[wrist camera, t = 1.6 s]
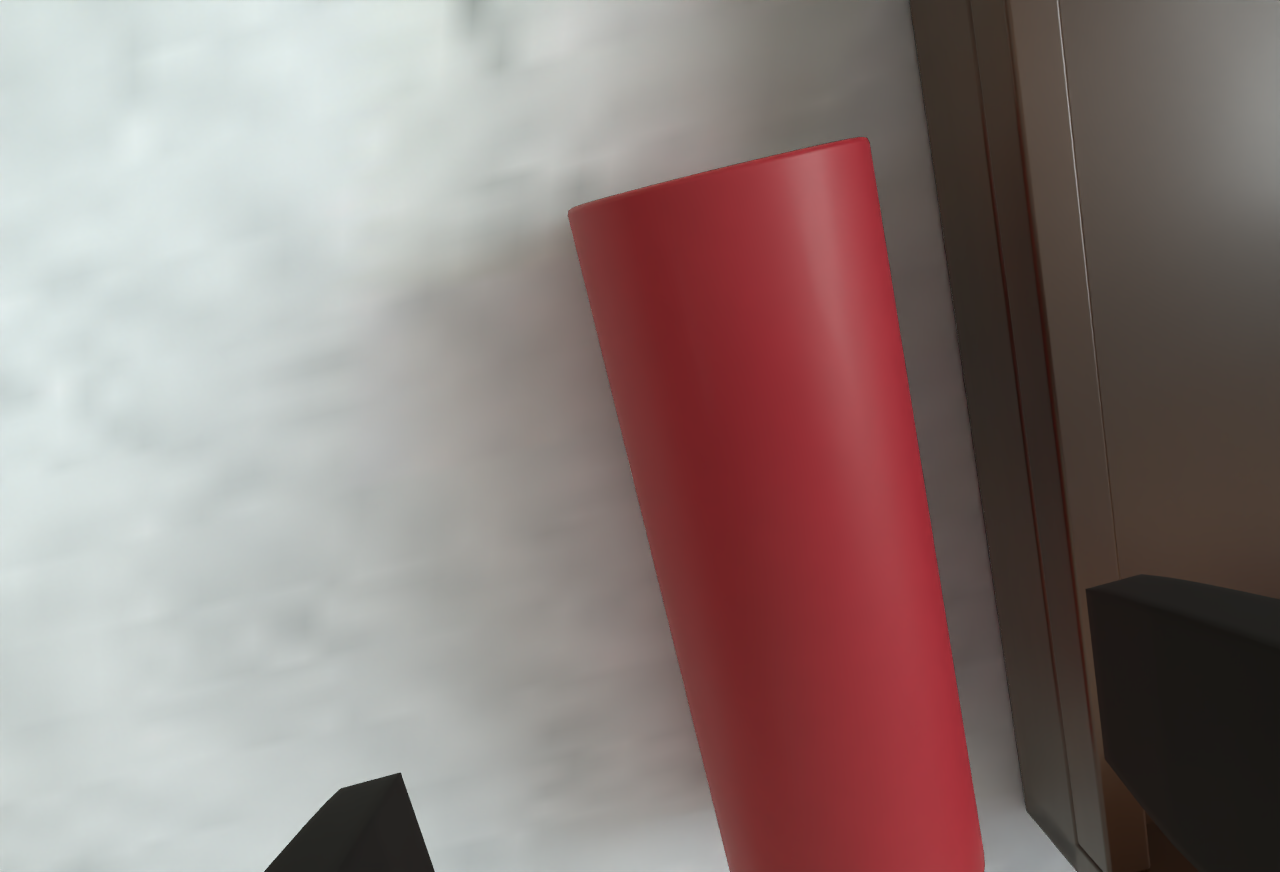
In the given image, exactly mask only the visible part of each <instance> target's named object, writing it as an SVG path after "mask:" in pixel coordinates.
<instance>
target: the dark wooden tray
mask: <svg viewBox="0 0 1280 872" xmlns="http://www.w3.org/2000/svg"><path fill="white" fill-rule="evenodd" d="M909 1H910V8H911V15H912V21H913V28H914V35H915V42H916V49H917V56H918V63H919V70H920V77H921V84H922V91H923V98H924V105H925V112H926V119H927V126H928V132H929V139H930V146H931V153H932V160H933V167H934V174H935V181H936V188H937V195H938V202H939V209H940V216H941V223H942V230H943V236H944V243H945V250H946V257H947V264H948V271H949V278H950V285H951V292H952V299H953V306H954V313H955V320H956V327H957V334H958V341H959V347H960V354H961V361H962V368H963V375H964V382H965V389H966V396H967V403H968V410H969V417H970V424H971V431H972V438H973V445H974V451H975V458H976V465H977V472H978V479H979V486H980V493H981V500H982V507H983V514H984V521H985V528H986V535H987V542H988V549H989V556H990V562H991V569H992V576H993V583H994V590H995V597H996V604H997V611H998V618H999V625H1000V632H1001V639H1002V646H1003V653H1004V660H1005V667H1006V673H1007V680H1008V687H1009V694H1010V701H1011V708H1012V715H1013V722H1014V729H1015V736H1016V743H1017V750H1018V757H1019V764H1020V771H1021V778H1022V784H1023V791H1024V798H1025V805H1026V811H1027V812H1028V813H1029V815H1030V816H1031V817H1032V818H1033V819H1034V821H1035V822H1036V823H1037V824H1038V825H1039V827H1040V828H1041V829H1042V830H1043V832H1044V833H1045V834H1046V835H1047V836H1048V838H1049V839H1050V840H1051V841H1052V842H1053V844H1054V845H1055V846H1056V847H1057V848H1058V850H1059V851H1060V852H1061V853H1062V854H1063V856H1064V857H1065V858H1066V859H1067V860H1068V862H1069V863H1070V864H1071V865H1072V866H1073V868H1074V869H1075V870H1076V871H1077V872H1199V871H1198V870H1197V869H1196V868H1195V867H1194V866H1193V865H1192V864H1191V863H1190V862H1189V861H1188V860H1187V859H1186V858H1185V857H1184V856H1183V855H1182V854H1181V853H1180V852H1179V851H1178V850H1177V848H1176V847H1175V846H1174V845H1173V844H1172V843H1171V842H1170V841H1169V840H1168V838H1167V837H1166V836H1165V835H1164V833H1163V832H1162V831H1161V830H1160V829H1159V827H1158V826H1157V825H1156V824H1155V823H1154V821H1153V820H1152V819H1151V818H1150V817H1149V815H1148V814H1147V813H1146V812H1145V810H1144V809H1143V808H1142V807H1141V806H1140V804H1139V803H1138V802H1137V800H1136V799H1135V798H1134V797H1133V795H1132V794H1131V793H1130V791H1129V790H1128V789H1127V787H1126V786H1125V785H1124V784H1123V782H1122V781H1121V780H1120V778H1119V777H1118V776H1117V774H1116V773H1115V772H1114V771H1113V769H1112V768H1111V767H1110V765H1109V764H1108V763H1107V761H1106V760H1105V758H1104V749H1103V740H1102V731H1101V722H1100V713H1099V705H1098V696H1097V687H1096V678H1095V669H1094V660H1093V652H1092V643H1091V634H1090V625H1089V616H1088V607H1087V599H1086V590H1085V589H1087V588H1091V587H1095V586H1098V585H1102V584H1106V583H1110V582H1113V581H1117V580H1121V579H1125V578H1128V577H1132V576H1136V575H1140V574H1146V575H1155V576H1163V577H1170V578H1176V579H1182V580H1188V581H1194V582H1199V583H1204V584H1209V585H1214V586H1219V587H1224V588H1229V589H1234V590H1239V591H1244V592H1248V593H1253V594H1257V595H1262V596H1267V597H1271V598H1276V599H1280V0H909Z"/></svg>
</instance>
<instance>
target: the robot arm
mask: <svg viewBox="0 0 1280 872" xmlns="http://www.w3.org/2000/svg"><path fill="white" fill-rule="evenodd" d="M1085 590H1086V599H1087V607H1088V616H1089V625H1090V634H1091V643H1092V652H1093V660H1094V669H1095V678H1096V687H1097V696H1098V705H1099V713H1100V722H1101V731H1102V740H1103V749H1104V758H1105V760H1106V761H1107V763H1108V764H1109V765H1110V767H1111V768H1112V769H1113V771H1114V772H1115V773H1116V774H1117V776H1118V777H1119V778H1120V780H1121V781H1122V782H1123V784H1124V785H1125V786H1126V787H1127V789H1128V790H1129V791H1130V793H1131V794H1132V795H1133V797H1134V798H1135V799H1136V800H1137V802H1138V803H1139V804H1140V806H1141V807H1142V808H1143V809H1144V810H1145V812H1146V813H1147V814H1148V815H1149V817H1150V818H1151V819H1152V820H1153V821H1154V823H1155V824H1156V825H1157V826H1158V827H1159V829H1160V830H1161V831H1162V832H1163V833H1164V835H1165V836H1166V837H1167V838H1168V840H1169V841H1170V842H1171V843H1172V844H1173V845H1174V846H1175V847H1176V848H1177V850H1178V851H1179V852H1180V853H1181V854H1182V855H1183V856H1184V857H1185V858H1186V859H1187V860H1188V861H1189V862H1190V863H1191V864H1192V865H1193V866H1194V867H1195V868H1196V869H1197V870H1198V871H1199V872H1280V599H1276V598H1271V597H1267V596H1262V595H1257V594H1253V593H1248V592H1244V591H1239V590H1234V589H1229V588H1224V587H1219V586H1214V585H1209V584H1204V583H1199V582H1194V581H1188V580H1182V579H1176V578H1170V577H1163V576H1155V575H1146V574H1140V575H1136V576H1132V577H1128V578H1125V579H1121V580H1117V581H1113V582H1110V583H1106V584H1102V585H1098V586H1095V587H1091V588H1087V589H1085ZM264 872H435V871H434V868H433V865H432V862H431V860H430V857H429V854H428V851H427V848H426V845H425V842H424V839H423V836H422V833H421V830H420V828H419V825H418V822H417V819H416V816H415V813H414V810H413V807H412V804H411V801H410V798H409V796H408V793H407V790H406V787H405V784H404V781H403V778H402V775H401V773H397V774H393V775H389V776H386V777H382V778H378V779H374V780H371V781H367V782H363V783H359V784H356V785H352V786H348V787H345V788H341V789H340V790H338V791H337V792H336V793H335V794H334V795H333V796H332V797H331V798H330V799H329V800H328V801H327V802H326V803H325V804H324V805H323V806H322V807H321V808H320V809H319V811H318V812H317V813H316V814H315V815H314V816H313V817H312V818H311V819H310V820H309V821H308V822H307V824H306V825H305V826H304V827H303V828H302V829H301V830H300V831H299V833H298V834H297V835H296V836H295V837H294V838H293V839H292V840H291V842H290V843H289V844H288V845H287V846H286V847H285V848H284V849H283V851H282V852H281V853H280V854H279V855H278V856H277V857H276V859H275V860H274V861H273V862H272V863H271V864H270V865H269V867H268V868H267V869H266V870H265V871H264Z"/></svg>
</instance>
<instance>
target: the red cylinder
mask: <svg viewBox="0 0 1280 872" xmlns="http://www.w3.org/2000/svg"><path fill="white" fill-rule="evenodd" d="M568 218H569V222H570V226H571V230H572V234H573V238H574V242H575V246H576V250H577V254H578V258H579V262H580V266H581V271H582V275H583V279H584V283H585V287H586V291H587V295H588V299H589V303H590V307H591V311H592V315H593V319H594V323H595V327H596V331H597V335H598V339H599V343H600V347H601V351H602V356H603V360H604V364H605V368H606V372H607V376H608V380H609V384H610V388H611V392H612V396H613V400H614V404H615V408H616V412H617V416H618V420H619V424H620V428H621V432H622V437H623V441H624V445H625V449H626V453H627V457H628V461H629V465H630V469H631V473H632V477H633V481H634V485H635V489H636V493H637V497H638V501H639V505H640V509H641V513H642V517H643V522H644V526H645V530H646V534H647V538H648V542H649V546H650V550H651V554H652V558H653V562H654V566H655V570H656V574H657V578H658V582H659V586H660V590H661V594H662V598H663V602H664V607H665V611H666V615H667V619H668V623H669V627H670V631H671V635H672V639H673V643H674V647H675V651H676V655H677V659H678V663H679V667H680V671H681V675H682V679H683V683H684V687H685V692H686V696H687V700H688V704H689V708H690V712H691V716H692V720H693V724H694V728H695V732H696V736H697V740H698V744H699V748H700V752H701V756H702V760H703V764H704V768H705V772H706V777H707V781H708V785H709V789H710V793H711V797H712V801H713V805H714V809H715V813H716V817H717V821H718V825H719V829H720V833H721V837H722V841H723V845H724V849H725V853H726V857H727V862H728V866H729V870H730V872H984V868H985V861H984V850H983V844H982V838H981V832H980V825H979V819H978V813H977V807H976V801H975V794H974V788H973V782H972V776H971V770H970V763H969V757H968V751H967V745H966V738H965V732H964V726H963V720H962V714H961V707H960V701H959V695H958V689H957V683H956V676H955V670H954V664H953V658H952V651H951V645H950V639H949V633H948V627H947V620H946V614H945V608H944V602H943V596H942V589H941V583H940V577H939V571H938V565H937V558H936V552H935V546H934V540H933V533H932V527H931V521H930V515H929V509H928V502H927V496H926V490H925V484H924V478H923V471H922V465H921V459H920V453H919V447H918V440H917V434H916V428H915V422H914V415H913V409H912V403H911V397H910V391H909V384H908V378H907V372H906V366H905V360H904V353H903V347H902V341H901V335H900V328H899V322H898V316H897V310H896V304H895V297H894V291H893V285H892V279H891V273H890V266H889V260H888V254H887V248H886V242H885V235H884V229H883V223H882V217H881V210H880V204H879V198H878V192H877V186H876V179H875V173H874V167H873V161H872V155H871V148H870V142H869V140H868V139H867V138H866V137H855V138H849V139H844V140H839V141H835V142H830V143H825V144H821V145H816V146H812V147H807V148H803V149H798V150H794V151H790V152H785V153H781V154H777V155H772V156H768V157H764V158H760V159H756V160H751V161H747V162H743V163H739V164H735V165H731V166H727V167H722V168H718V169H714V170H710V171H706V172H702V173H698V174H694V175H690V176H686V177H682V178H678V179H674V180H670V181H666V182H662V183H659V184H655V185H651V186H647V187H643V188H639V189H635V190H632V191H628V192H624V193H620V194H617V195H613V196H609V197H606V198H602V199H598V200H595V201H591V202H588V203H585V204H581V205H578V206H575V207H573V208H571V209H570V210H569V211H568Z"/></svg>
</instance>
